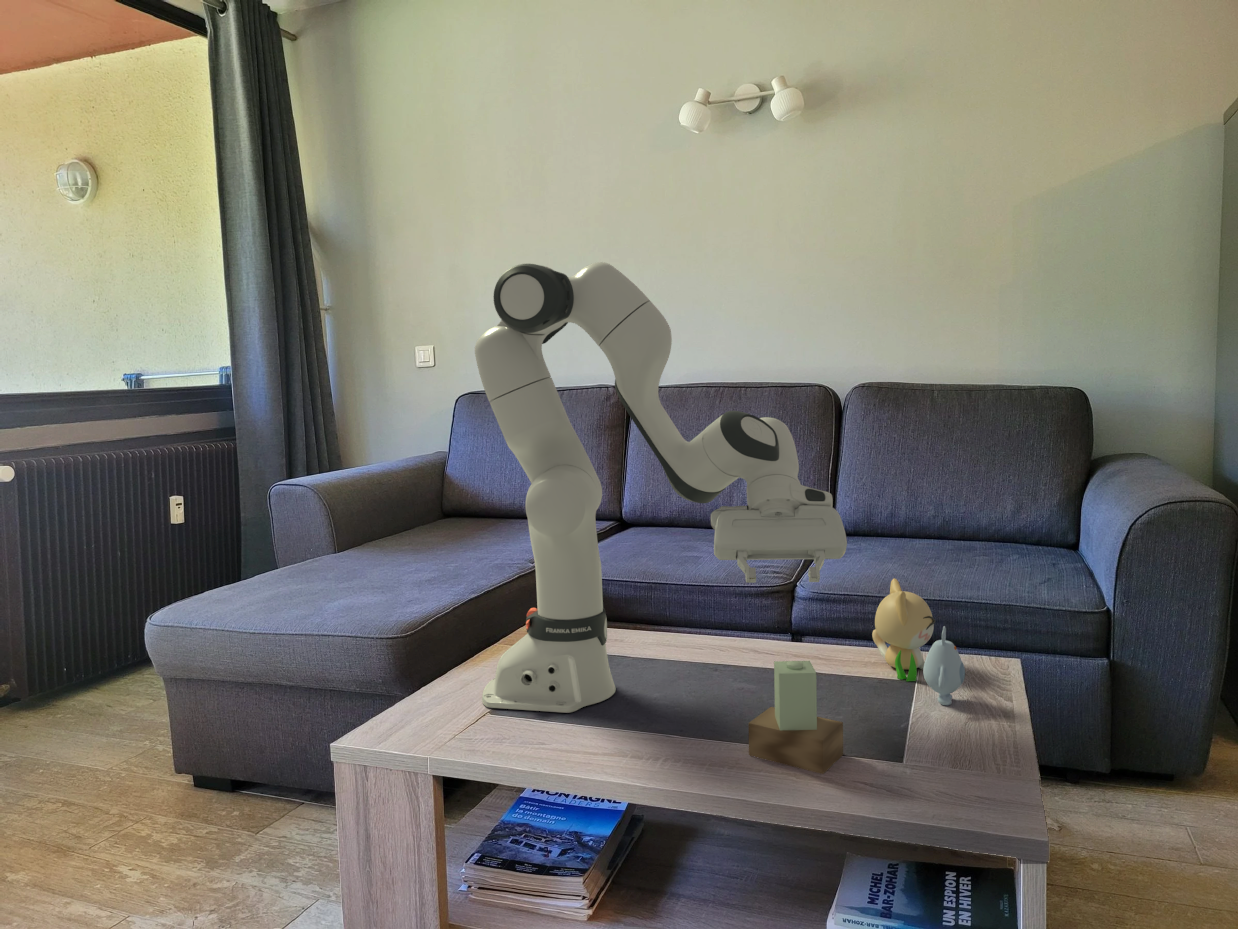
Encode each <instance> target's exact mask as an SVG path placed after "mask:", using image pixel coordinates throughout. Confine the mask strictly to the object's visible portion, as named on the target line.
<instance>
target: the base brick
mask: <svg viewBox="0 0 1238 929" xmlns="http://www.w3.org/2000/svg"><path fill="white" fill-rule="evenodd" d="M747 725H748V726H747V727H748V755H750V757H753V756H755V757H754V758H757V757H758V758H757V759H762V760H765V759H766V761H770V762H773V761H774V762H773V763H778V764H782V765H785V766H789V767H793V768H797V769H802V770H805V771H809V772H813V773H816V774H820V775H824V774H825V773H826V772H827V771H828V770H829V769H830V768H831V767H832V766H834V764H835V763H837V761H839V759H841V758H842V757H843V755H844V722H843V721H840V720H834V719H831V718H825V717H821V716H817V730H780V729H779V726H778V723H777V720H776V718H775V706H769V707H768V708H767V709H766V710H764V711H763V712H762V713H760V714H758V715H757V716H755V718H753V719H752V720H750V721H749V722H748V723H747Z"/></svg>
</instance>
